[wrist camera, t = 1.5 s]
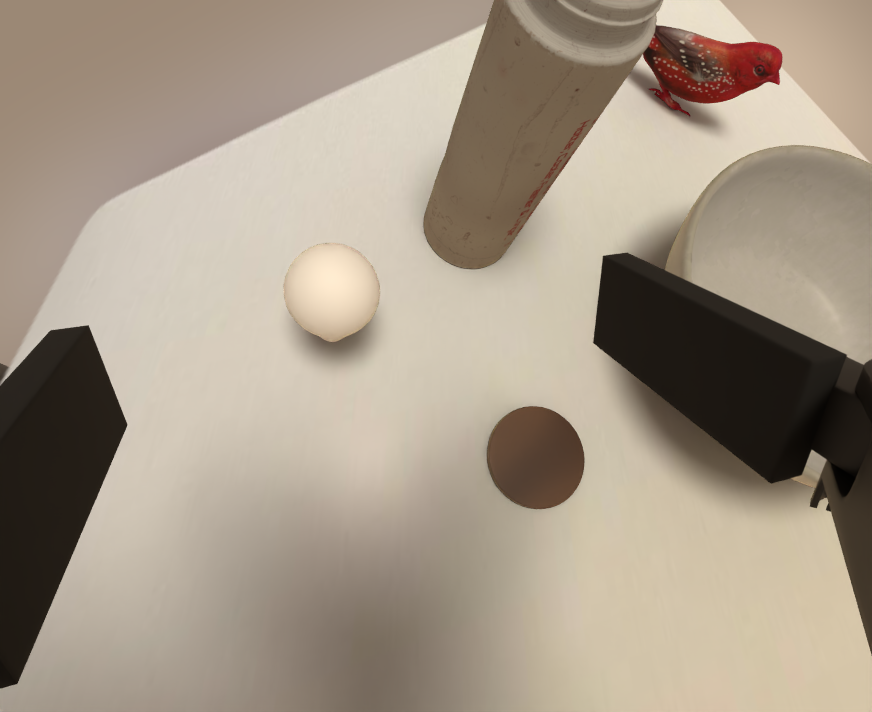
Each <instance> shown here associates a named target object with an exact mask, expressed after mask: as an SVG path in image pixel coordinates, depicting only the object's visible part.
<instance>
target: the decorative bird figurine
mask: <svg viewBox="0 0 872 712" xmlns="http://www.w3.org/2000/svg"><path fill="white" fill-rule="evenodd" d="M643 56H644V59H645V61H646V62H647V64H648V65H649V66H650V68H651V69H652V71H653V72H654V74H655V76H656V78H657V80H658V81H659V85H660V87H661V89H662V91H663V93H662V92H661V91H660V90H658V89H654V88H651V89H649V90H653V91H656V93H655V95H656V96H657V97H659V98H660V99H662V100H663V101H664V102H666V104H667V105H668V106H669V107H670V108H672V109H674V110H679V111H681V112H683V113H685V114H687V115H689V116H690V114H689V113H688V112H686V111H684V110H682V109H681V107H680V105H679V104H678V103H677V102H676V101H674V100H673V99H672V98H671V95H670V93H669V92H671V93H672V94H674V95H676V96H678V97H680V98H682V99H685V100H687V101H691V102H697V103H717V102H723V101H727V100H730V99H733V98H735V97H737V96H739V95H741V94H743V93H745V92H747V91H749V90H753V89H756V88H758V87H759V86H761V85H763V84H764V83H766V82H773V83H775V84H778V85H779V84H780V78H779V70H780V68H781V64H782V53H781V51H780V50H779V49H778V48H776V47H774V46H772V45H769V44H763V43H758V42H746V43H737V44H729V43H724V42H720V41H716V40H713V39H710V38H707V37H704V36H701V35H698V34H696V33H693V32H689V31H685V30H682V29H677V28H672V27H666V26H657V25H656V28H655V33H654V35H653V37H652V40H651V42H650V44H649V46H648V47H647V49H646V50H645V52H644V53H643ZM657 93H658V94H660V95H658V94H657Z"/></svg>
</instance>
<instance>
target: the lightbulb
mask: <svg viewBox="0 0 872 712" xmlns="http://www.w3.org/2000/svg"><path fill="white" fill-rule="evenodd" d="M284 298H285V302H286V306H287V308H288V310H289V312H290V314H291V316H292V317H293V318H294V320H295V321H296V322H297V323H298V324H299V325H300V326H302V327H303V328H304V329H305V330H307V331H309V332H310V333H312V334H314V335H317V336H320V337H321V338H322V339H324V340H326V341H329V342H336V341H339V340H341V339H343V338H344V337H346V336H349V335H351V334H353V333H356V332H357V331H359V330H360V329H362V328H363V327H364V326H365V325H366V324H367V323H368V322H369V321H370V320H371V319H372V317H373V315H374V314H375V312H376V309H377V307H378V303H379V298H380V285H379V281H378V278H377V274H376V272H375V270H374V268H373V266H372V265H371V264H370V262H369V261H368V260H367V259H366V258H365V257H364V256H363V255H362V254H361V253H360V252H358V251H357V250H355V249H353V248H351V247H348V246H346V245H342V244H337V243H325V244H319V245H316V246H313V247H310V248H309V249H307V250H305V251H304V252H302V253H301V254H300V255H299V256H298V257H297V258H296V259H295V260H294V261H293V263H292V264H291V265H290V267H289V269H288V272H287V274H286V277H285V282H284Z"/></svg>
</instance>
